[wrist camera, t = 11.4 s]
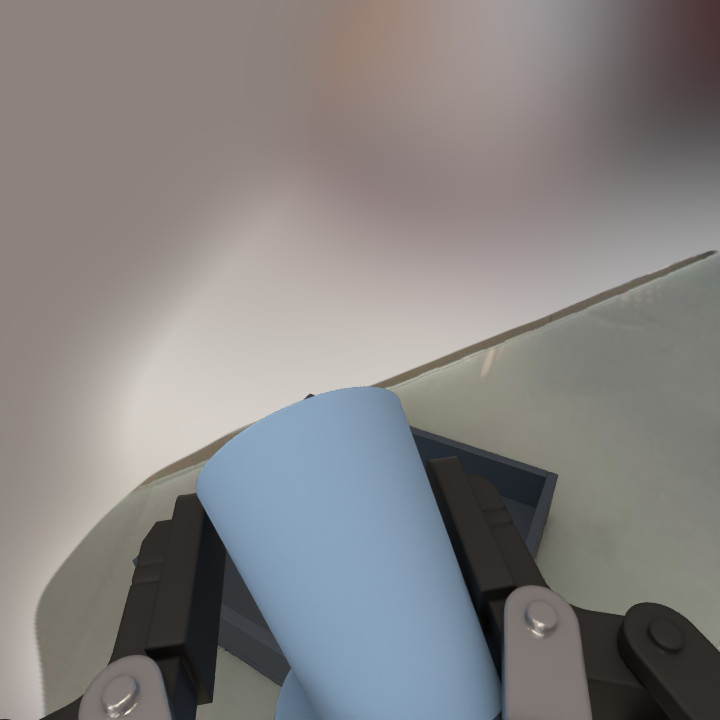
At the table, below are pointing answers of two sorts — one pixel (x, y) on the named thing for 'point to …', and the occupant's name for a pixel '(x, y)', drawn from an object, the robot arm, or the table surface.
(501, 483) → the tray
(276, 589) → the spotlight
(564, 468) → the table surface
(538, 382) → the table surface
